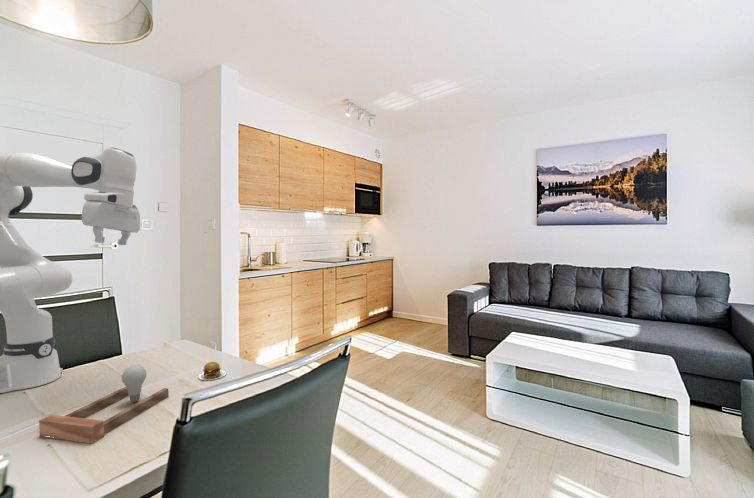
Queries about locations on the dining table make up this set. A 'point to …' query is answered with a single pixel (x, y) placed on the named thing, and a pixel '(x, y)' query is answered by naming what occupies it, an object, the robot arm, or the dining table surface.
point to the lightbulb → (134, 381)
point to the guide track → (93, 430)
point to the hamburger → (212, 371)
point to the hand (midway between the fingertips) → (111, 244)
